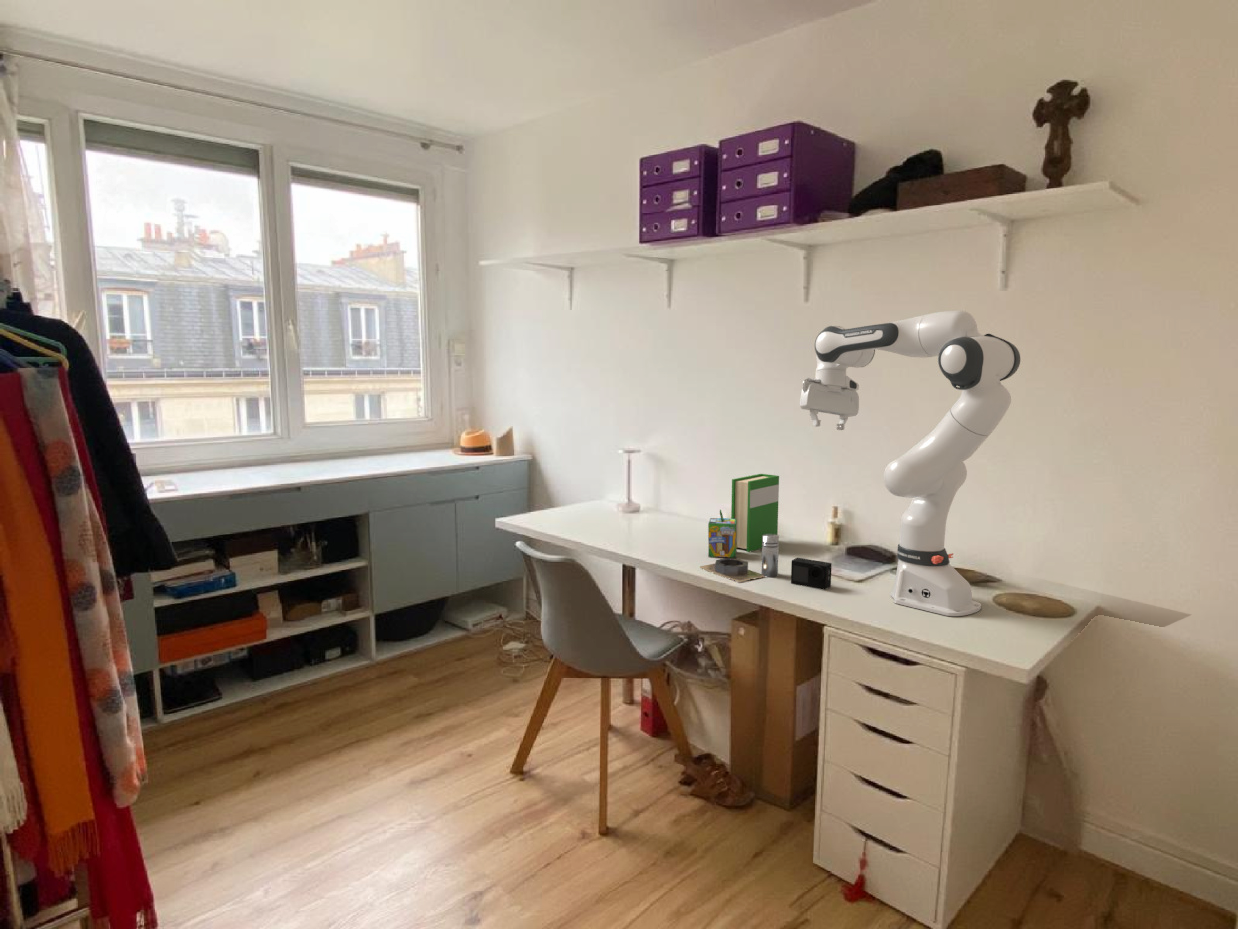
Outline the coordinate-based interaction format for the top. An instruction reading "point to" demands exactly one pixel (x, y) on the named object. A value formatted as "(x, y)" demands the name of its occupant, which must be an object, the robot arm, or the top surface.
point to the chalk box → (722, 537)
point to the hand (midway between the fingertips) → (828, 428)
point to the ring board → (732, 569)
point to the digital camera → (811, 573)
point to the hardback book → (755, 509)
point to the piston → (770, 555)
